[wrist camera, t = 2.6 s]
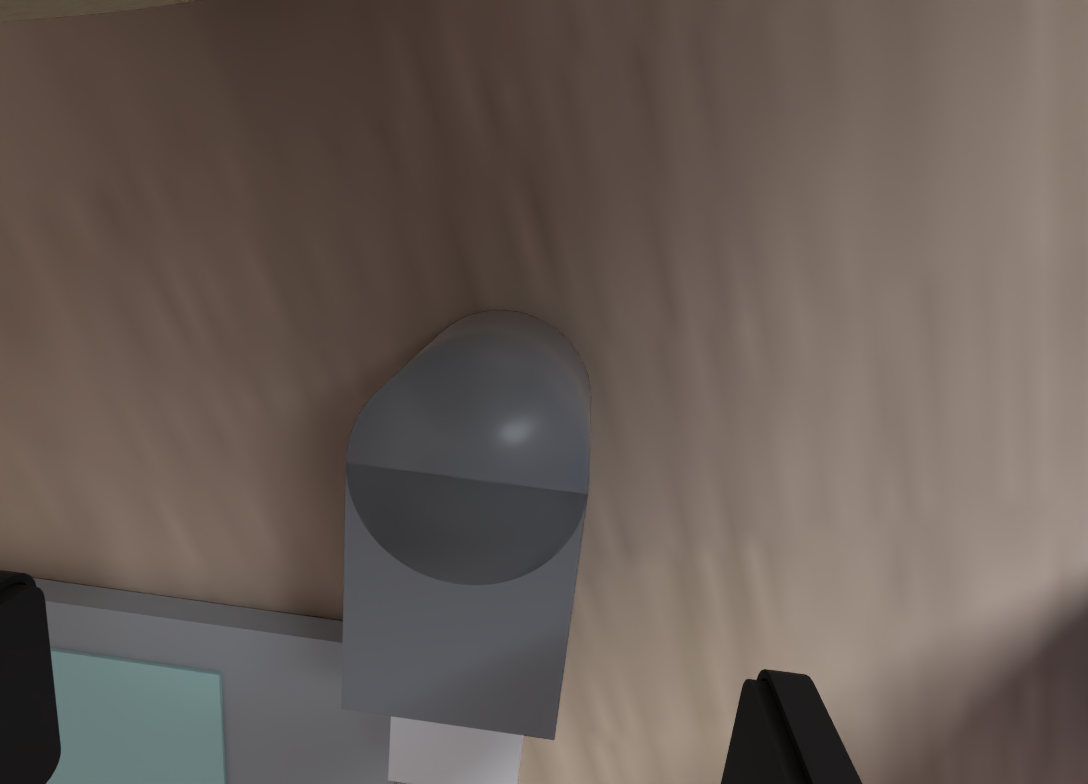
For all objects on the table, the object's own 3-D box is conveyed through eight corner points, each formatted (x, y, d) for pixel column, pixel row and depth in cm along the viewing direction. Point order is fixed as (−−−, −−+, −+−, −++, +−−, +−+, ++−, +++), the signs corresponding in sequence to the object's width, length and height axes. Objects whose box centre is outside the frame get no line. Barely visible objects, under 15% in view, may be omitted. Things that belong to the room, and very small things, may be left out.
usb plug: (419, 299, 15) (347, 344, 10) (601, 321, 14) (604, 375, 10) (400, 677, 18) (339, 830, 13) (552, 699, 17) (537, 860, 13)
